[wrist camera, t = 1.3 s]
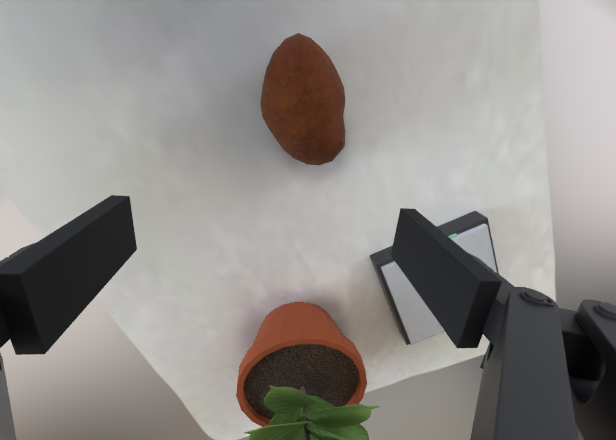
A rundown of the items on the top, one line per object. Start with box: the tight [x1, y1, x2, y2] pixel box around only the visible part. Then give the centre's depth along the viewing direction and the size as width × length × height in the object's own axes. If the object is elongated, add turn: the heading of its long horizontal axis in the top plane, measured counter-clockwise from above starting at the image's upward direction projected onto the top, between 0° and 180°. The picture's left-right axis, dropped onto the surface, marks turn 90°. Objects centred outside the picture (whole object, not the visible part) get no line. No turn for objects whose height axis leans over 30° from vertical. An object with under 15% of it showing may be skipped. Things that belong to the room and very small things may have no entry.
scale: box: [370, 211, 499, 345], centre depth 39 cm, size 14×14×3 cm
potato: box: [261, 33, 345, 165], centre depth 28 cm, size 8×12×8 cm, turn 18°
